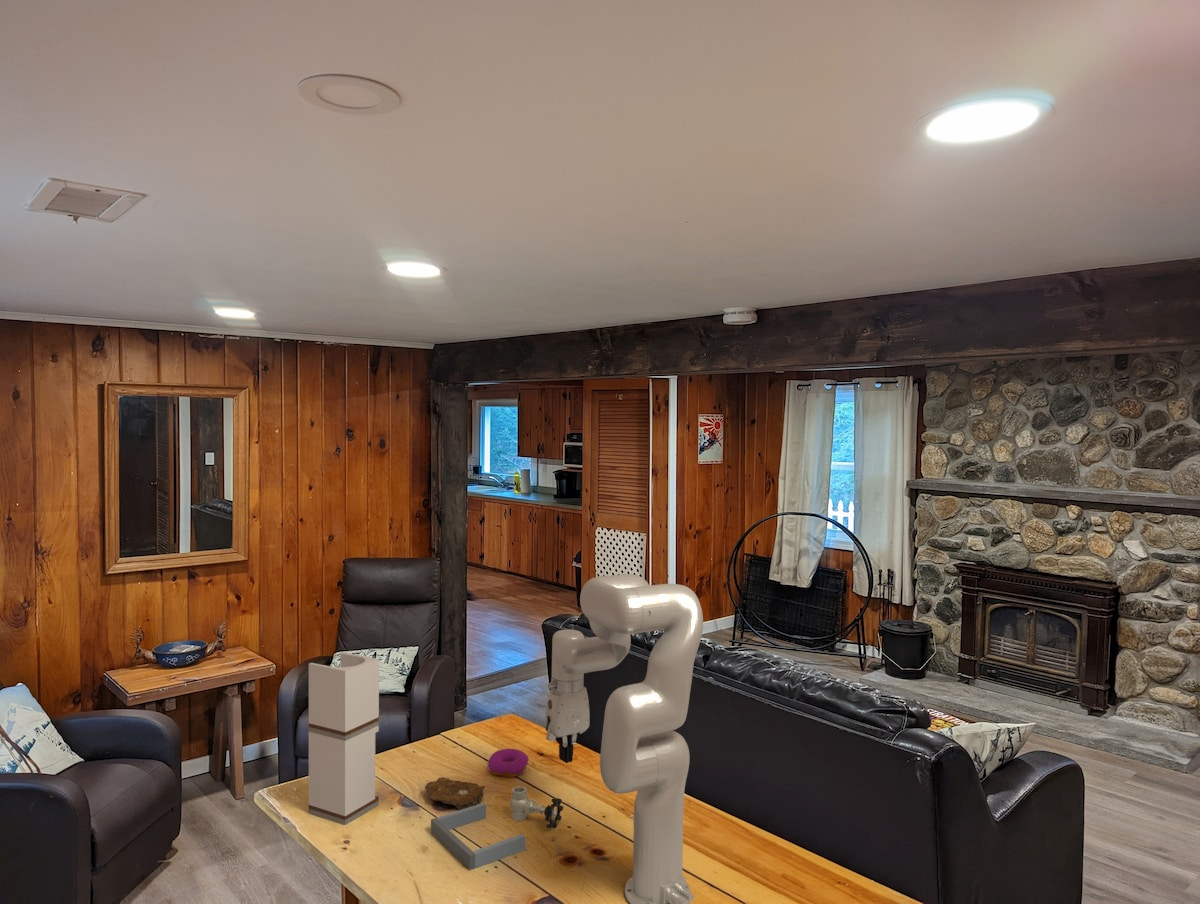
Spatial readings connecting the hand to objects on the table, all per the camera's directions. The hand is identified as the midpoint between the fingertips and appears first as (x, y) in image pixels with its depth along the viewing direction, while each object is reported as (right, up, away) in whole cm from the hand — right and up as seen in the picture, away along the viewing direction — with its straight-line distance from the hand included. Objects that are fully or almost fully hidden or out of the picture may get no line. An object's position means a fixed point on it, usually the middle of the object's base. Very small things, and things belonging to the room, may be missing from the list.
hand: (565, 760), depth 185 cm
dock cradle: (-18, -12, -14) cm, 26 cm away
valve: (-7, -12, -5) cm, 15 cm away
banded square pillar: (-52, -11, -1) cm, 53 cm away
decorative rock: (-28, -12, +5) cm, 31 cm away
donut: (-16, -11, +21) cm, 29 cm away
